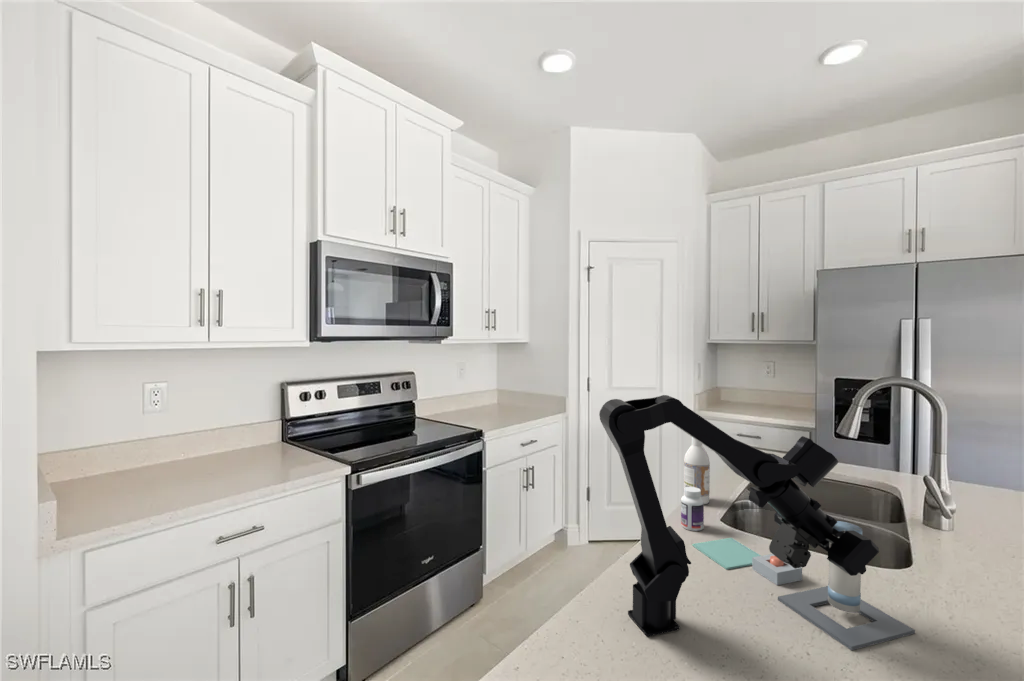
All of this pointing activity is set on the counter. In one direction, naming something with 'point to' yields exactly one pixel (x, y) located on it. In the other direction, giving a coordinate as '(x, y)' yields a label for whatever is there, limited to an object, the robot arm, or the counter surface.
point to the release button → (776, 561)
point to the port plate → (849, 637)
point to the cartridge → (844, 580)
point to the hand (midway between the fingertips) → (852, 564)
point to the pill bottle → (692, 509)
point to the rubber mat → (727, 552)
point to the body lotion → (697, 469)
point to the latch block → (776, 570)
